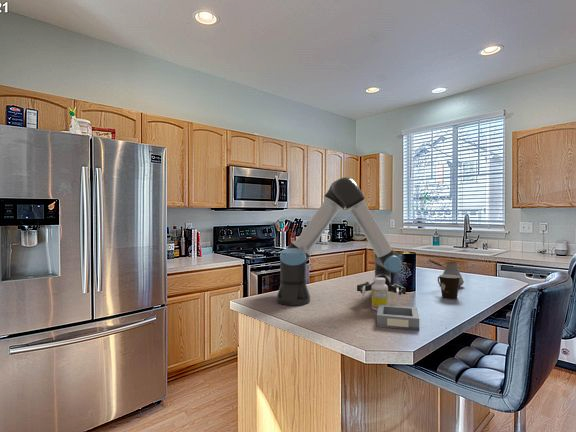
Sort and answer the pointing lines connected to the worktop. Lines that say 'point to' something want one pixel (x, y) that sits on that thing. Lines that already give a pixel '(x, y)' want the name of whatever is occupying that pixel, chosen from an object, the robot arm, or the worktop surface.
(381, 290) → the supplement bottle
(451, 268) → the coffee pot
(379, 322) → the pocket tray
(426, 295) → the worktop surface
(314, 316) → the worktop surface
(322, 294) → the worktop surface
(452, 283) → the coffee mug
